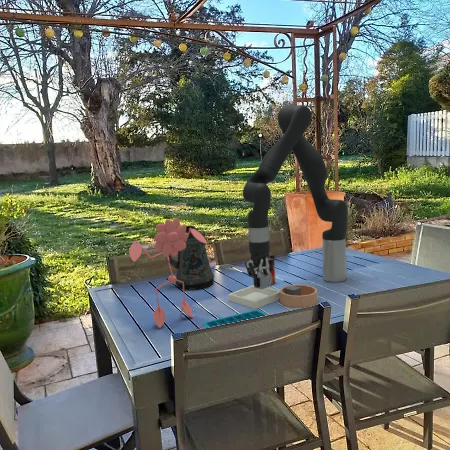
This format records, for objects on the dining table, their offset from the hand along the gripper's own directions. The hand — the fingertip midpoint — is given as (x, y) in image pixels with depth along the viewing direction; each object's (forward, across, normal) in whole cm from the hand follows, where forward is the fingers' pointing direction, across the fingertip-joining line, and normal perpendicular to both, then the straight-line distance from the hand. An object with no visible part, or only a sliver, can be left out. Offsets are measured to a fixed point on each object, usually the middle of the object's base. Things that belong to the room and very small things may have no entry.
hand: (261, 285), depth 155 cm
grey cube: (+1, 0, 0) cm, 1 cm away
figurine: (+6, -33, +7) cm, 34 cm away
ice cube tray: (+6, -23, -11) cm, 26 cm away
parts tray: (+6, 0, +3) cm, 7 cm away
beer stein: (+6, -3, +37) cm, 38 cm away
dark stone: (+6, +8, -8) cm, 12 cm away
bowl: (+6, +8, -10) cm, 14 cm away
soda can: (+7, +17, +13) cm, 22 cm away
